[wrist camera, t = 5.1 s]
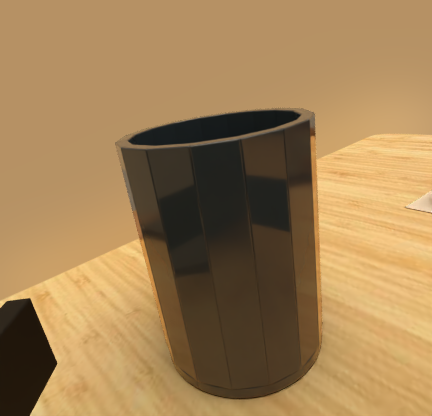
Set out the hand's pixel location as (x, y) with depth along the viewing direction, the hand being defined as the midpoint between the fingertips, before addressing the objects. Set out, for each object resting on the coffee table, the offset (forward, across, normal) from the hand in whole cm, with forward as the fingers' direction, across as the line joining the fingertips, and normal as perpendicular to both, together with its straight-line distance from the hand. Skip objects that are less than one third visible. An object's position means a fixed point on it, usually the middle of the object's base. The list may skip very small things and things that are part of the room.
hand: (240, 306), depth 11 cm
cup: (+6, 0, -6) cm, 8 cm away
